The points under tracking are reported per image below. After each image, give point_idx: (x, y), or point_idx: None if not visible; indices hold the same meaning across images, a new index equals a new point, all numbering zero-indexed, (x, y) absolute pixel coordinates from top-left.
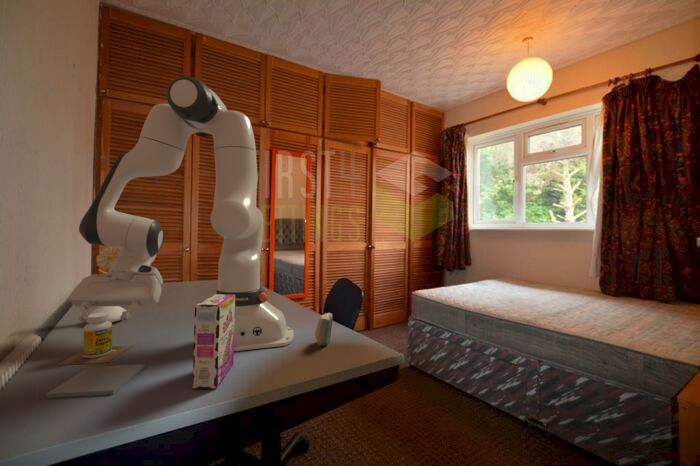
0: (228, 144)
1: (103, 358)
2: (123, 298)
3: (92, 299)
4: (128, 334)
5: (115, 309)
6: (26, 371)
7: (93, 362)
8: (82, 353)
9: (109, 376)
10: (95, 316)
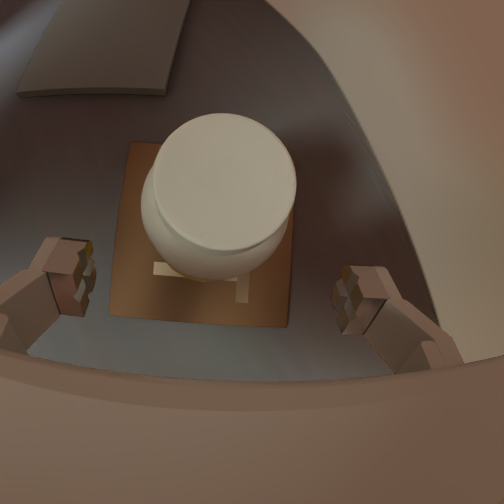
0: None
1: None
2: (58, 372)
3: (417, 372)
4: None
5: None
6: (351, 137)
7: None
8: (273, 253)
9: (86, 31)
10: (221, 127)
